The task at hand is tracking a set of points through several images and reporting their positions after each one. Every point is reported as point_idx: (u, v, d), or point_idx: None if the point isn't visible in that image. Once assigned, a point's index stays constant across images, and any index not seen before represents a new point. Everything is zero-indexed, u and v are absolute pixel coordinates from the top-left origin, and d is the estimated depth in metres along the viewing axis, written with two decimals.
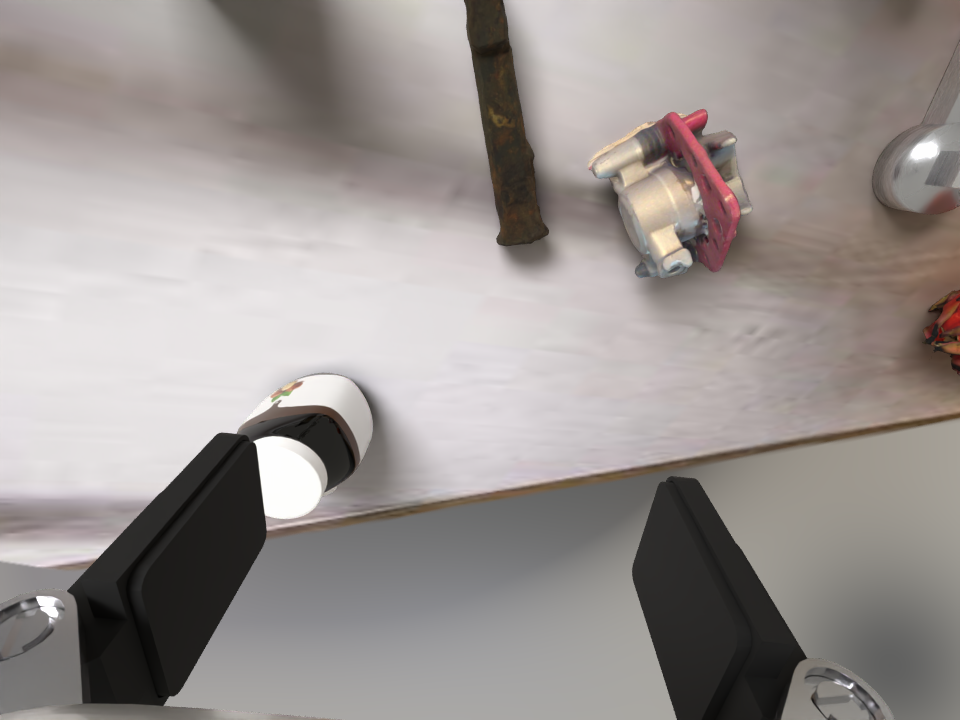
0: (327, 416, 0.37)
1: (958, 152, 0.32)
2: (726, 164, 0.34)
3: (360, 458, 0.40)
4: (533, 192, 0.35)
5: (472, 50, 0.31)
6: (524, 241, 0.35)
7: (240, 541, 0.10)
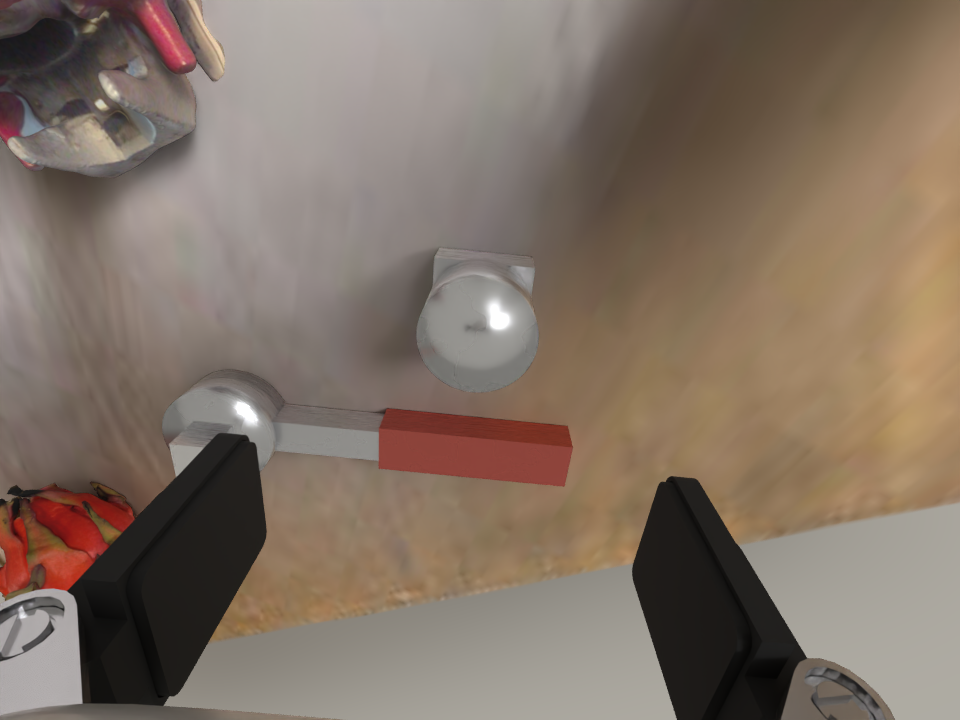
0: None
1: None
2: (134, 129, 0.21)
3: None
4: None
5: None
6: None
7: (240, 541, 0.10)
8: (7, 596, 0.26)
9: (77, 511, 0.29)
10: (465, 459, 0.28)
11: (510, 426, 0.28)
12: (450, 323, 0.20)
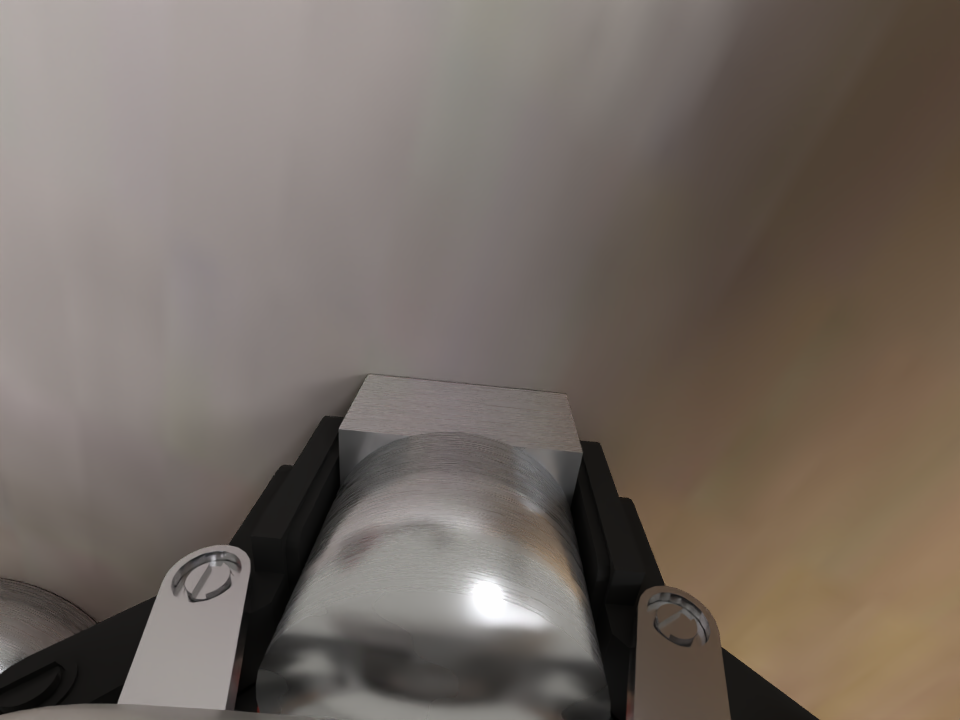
0: None
1: None
2: None
3: None
4: None
5: None
6: None
7: None
8: None
9: None
10: None
11: None
12: (353, 684, 0.07)
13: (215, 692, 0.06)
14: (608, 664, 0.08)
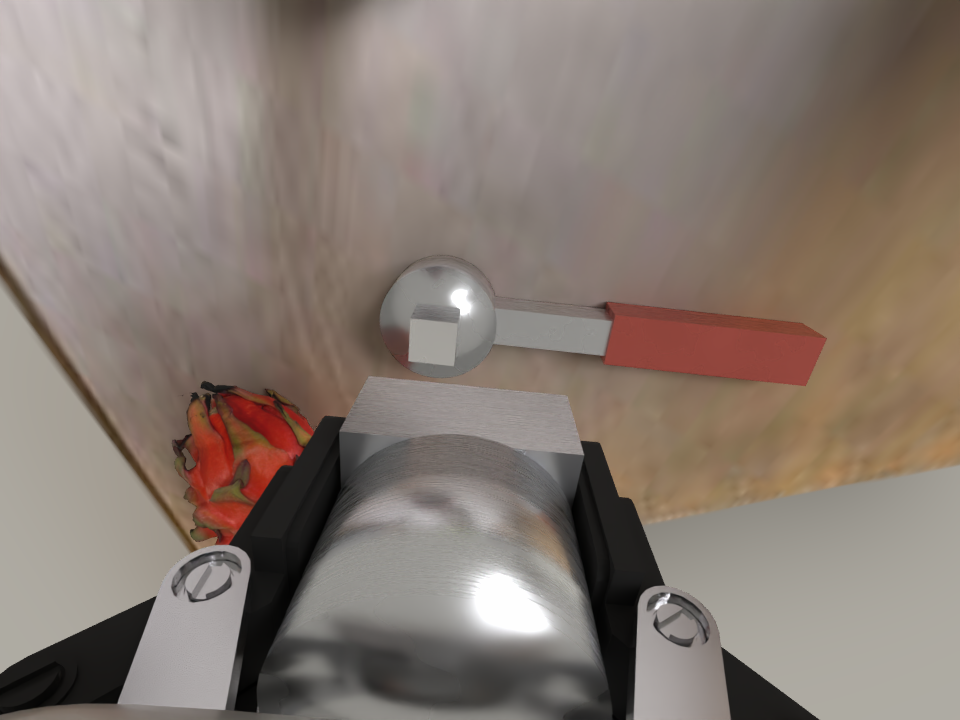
0: None
1: (457, 317, 0.23)
2: None
3: None
4: None
5: None
6: None
7: None
8: (215, 492, 0.24)
9: (268, 412, 0.27)
10: (704, 352, 0.25)
11: (745, 320, 0.26)
12: (354, 688, 0.07)
13: (215, 692, 0.06)
14: (608, 664, 0.08)
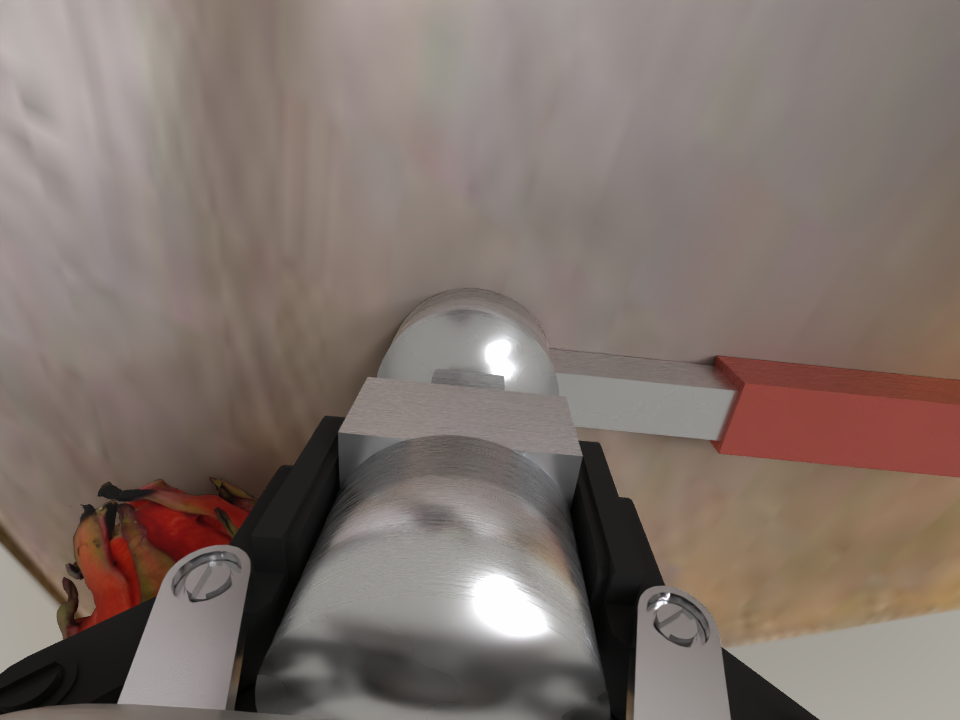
0: None
1: None
2: None
3: None
4: None
5: None
6: None
7: None
8: None
9: (207, 525, 0.18)
10: (876, 437, 0.16)
11: (930, 383, 0.17)
12: (352, 688, 0.07)
13: (215, 692, 0.06)
14: (608, 664, 0.08)
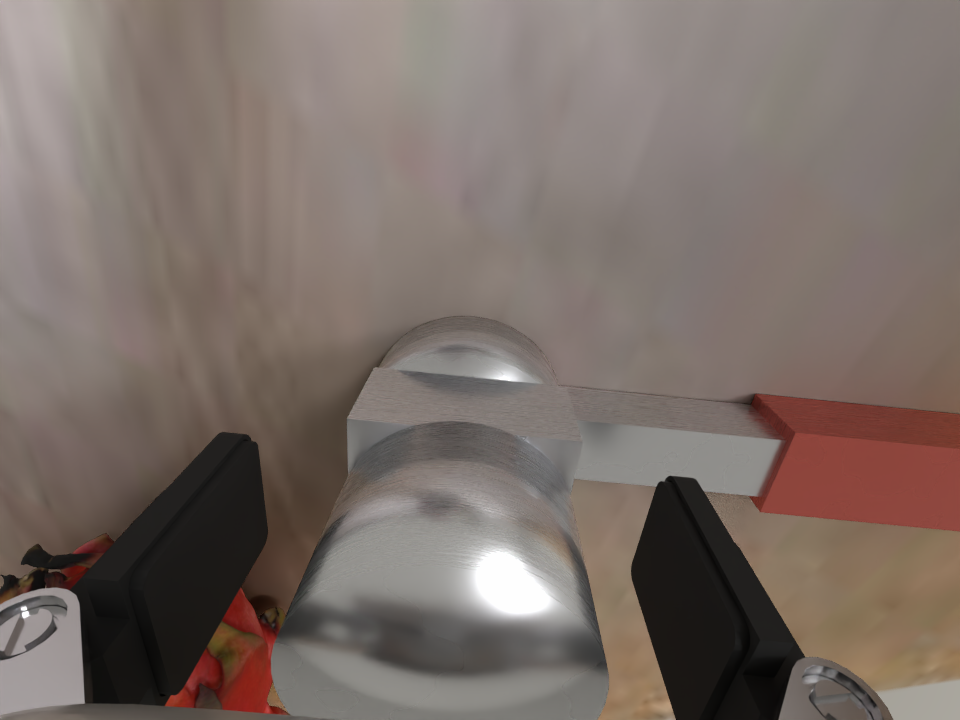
0: None
1: None
2: None
3: None
4: None
5: None
6: None
7: (241, 540, 0.10)
8: None
9: None
10: (949, 494, 0.14)
11: None
12: (363, 657, 0.07)
13: None
14: None
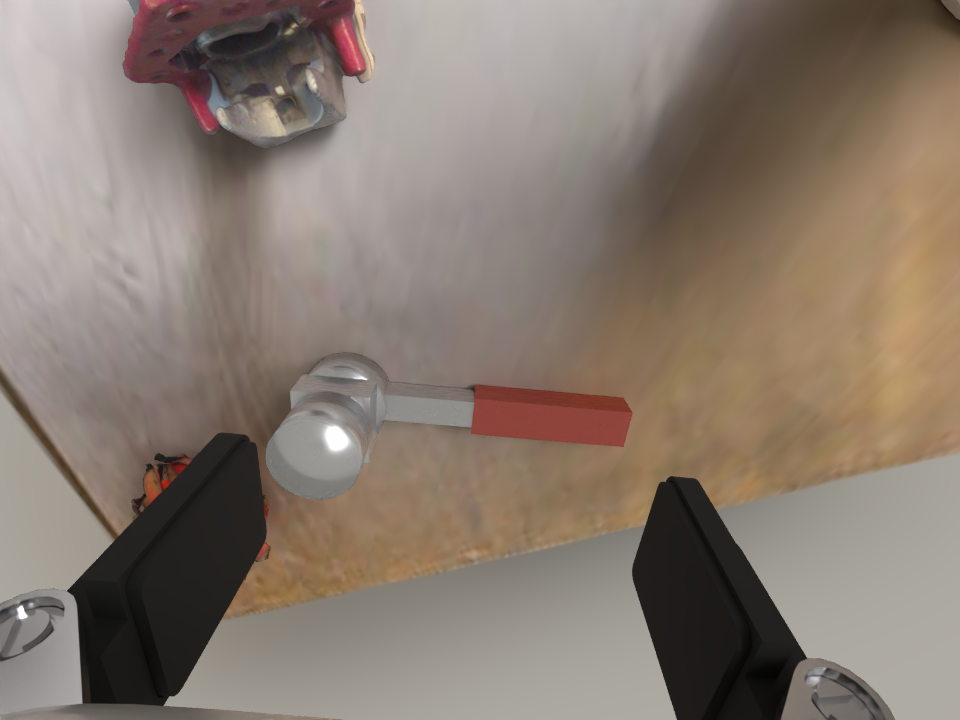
0: None
1: None
2: (300, 113, 0.25)
3: None
4: None
5: None
6: None
7: (240, 541, 0.10)
8: None
9: None
10: (544, 424, 0.33)
11: (578, 397, 0.34)
12: (291, 452, 0.26)
13: None
14: None
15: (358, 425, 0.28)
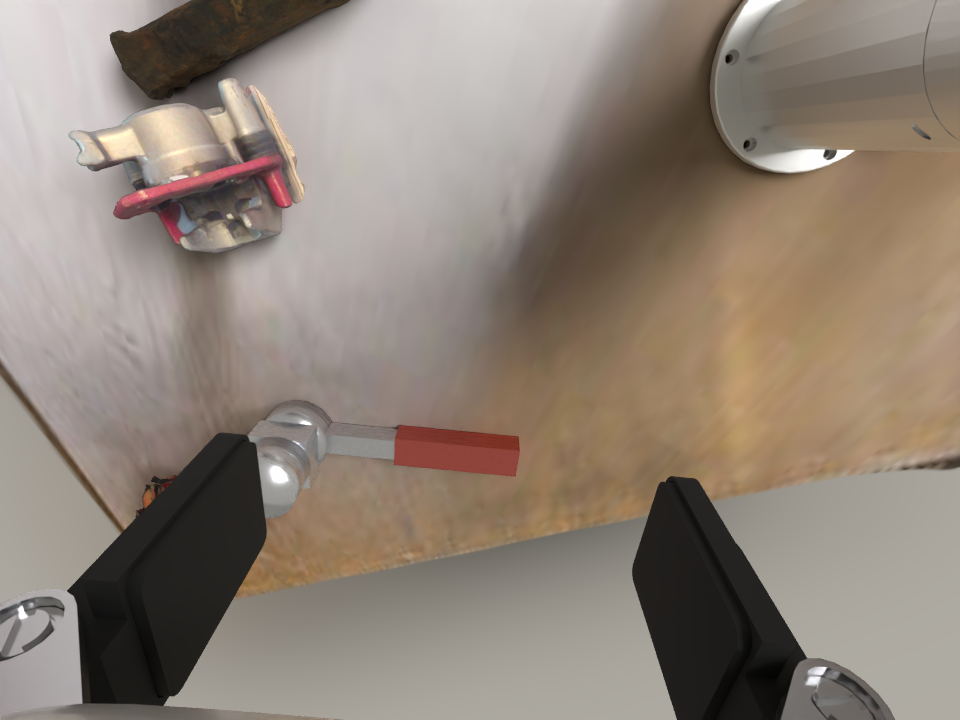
0: None
1: None
2: (246, 231, 0.34)
3: None
4: (185, 66, 0.30)
5: None
6: (122, 64, 0.29)
7: (240, 541, 0.10)
8: None
9: None
10: (450, 458, 0.42)
11: (480, 436, 0.43)
12: None
13: None
14: None
15: (295, 464, 0.37)
